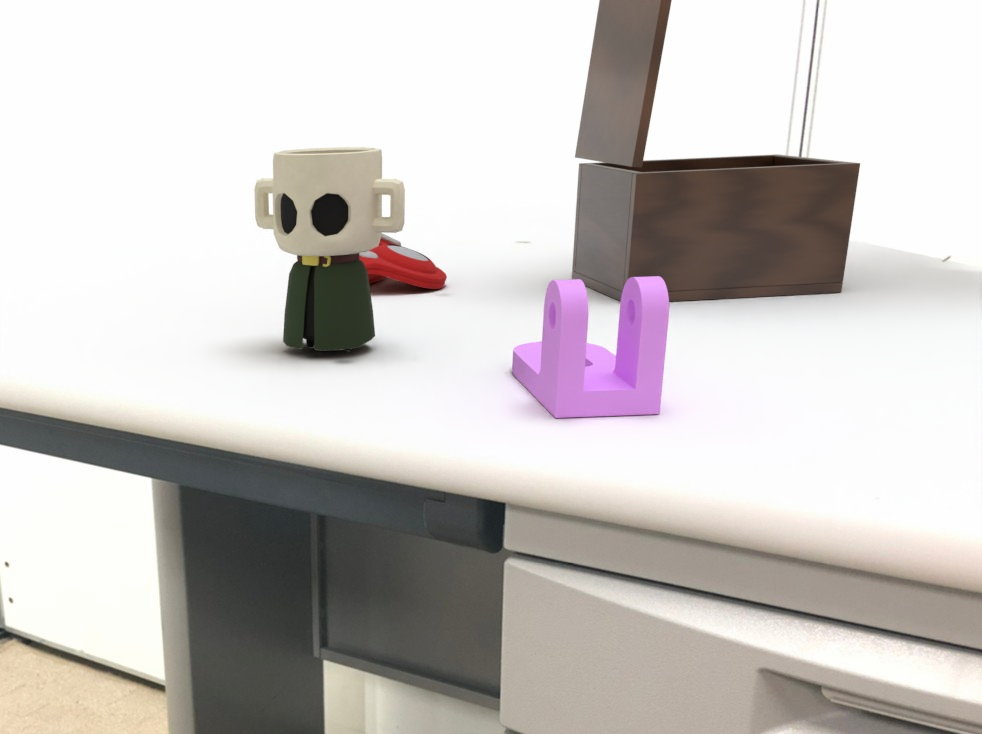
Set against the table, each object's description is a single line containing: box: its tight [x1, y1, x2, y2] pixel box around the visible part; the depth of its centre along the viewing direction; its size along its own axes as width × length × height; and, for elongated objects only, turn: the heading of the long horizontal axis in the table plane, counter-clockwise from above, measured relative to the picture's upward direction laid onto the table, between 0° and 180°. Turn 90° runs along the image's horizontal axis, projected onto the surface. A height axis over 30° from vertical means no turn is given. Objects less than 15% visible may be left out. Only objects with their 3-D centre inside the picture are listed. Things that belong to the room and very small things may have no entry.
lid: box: [574, 0, 672, 167], centre depth 92 cm, size 18×13×6 cm
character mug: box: [253, 146, 406, 352], centre depth 80 cm, size 11×7×13 cm, turn 60°
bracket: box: [511, 276, 670, 419], centre depth 69 cm, size 13×6×7 cm, turn 1°
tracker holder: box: [359, 232, 448, 290], centre depth 106 cm, size 12×4×10 cm
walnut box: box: [571, 153, 861, 303], centre depth 98 cm, size 18×13×10 cm
